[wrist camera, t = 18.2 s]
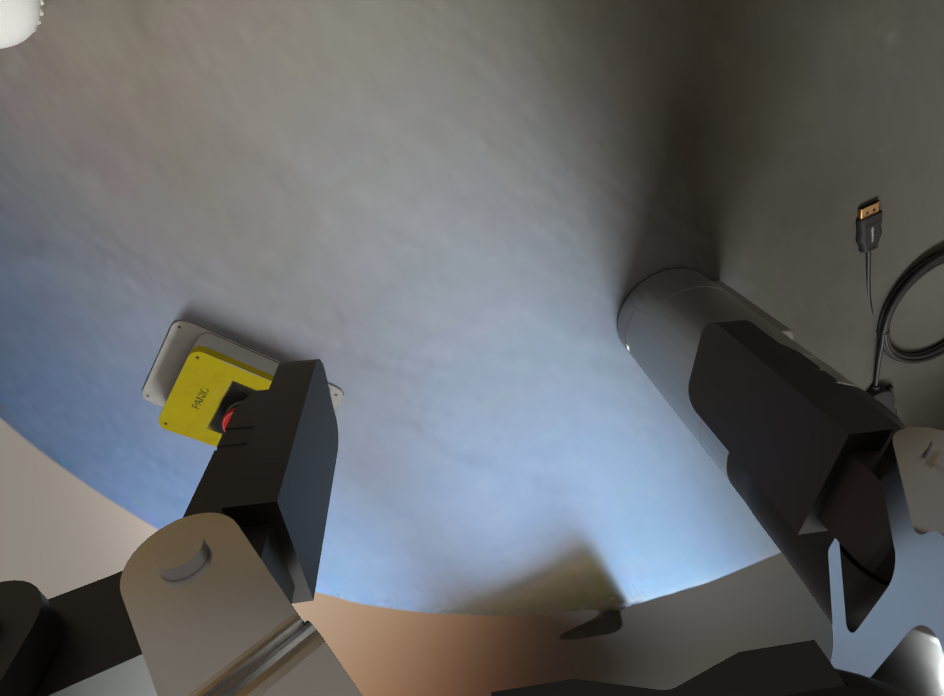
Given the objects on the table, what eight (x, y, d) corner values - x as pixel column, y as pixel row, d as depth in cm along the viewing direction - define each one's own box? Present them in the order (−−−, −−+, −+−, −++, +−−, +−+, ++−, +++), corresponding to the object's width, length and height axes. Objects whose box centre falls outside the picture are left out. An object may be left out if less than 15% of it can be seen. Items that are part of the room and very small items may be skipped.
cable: (1014, 134, 39) (1034, 136, 38) (969, 377, 54) (983, 385, 53) (850, 207, 41) (864, 212, 40) (850, 424, 56) (860, 432, 54)
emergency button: (296, 487, 44) (116, 426, 38) (304, 453, 47) (142, 394, 42) (343, 418, 40) (154, 340, 34) (348, 388, 44) (178, 313, 38)
